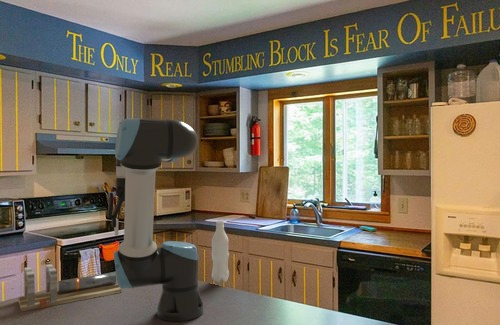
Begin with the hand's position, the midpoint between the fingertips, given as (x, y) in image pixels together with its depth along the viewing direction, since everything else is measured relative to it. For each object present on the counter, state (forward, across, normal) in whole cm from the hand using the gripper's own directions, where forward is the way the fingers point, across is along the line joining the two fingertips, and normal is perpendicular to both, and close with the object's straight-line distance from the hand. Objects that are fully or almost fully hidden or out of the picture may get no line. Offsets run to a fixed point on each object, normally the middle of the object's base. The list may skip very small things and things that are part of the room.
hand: (126, 234), depth 161 cm
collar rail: (+21, +21, 0) cm, 30 cm away
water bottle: (+21, -34, +16) cm, 43 cm away
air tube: (+20, +15, 0) cm, 25 cm away
